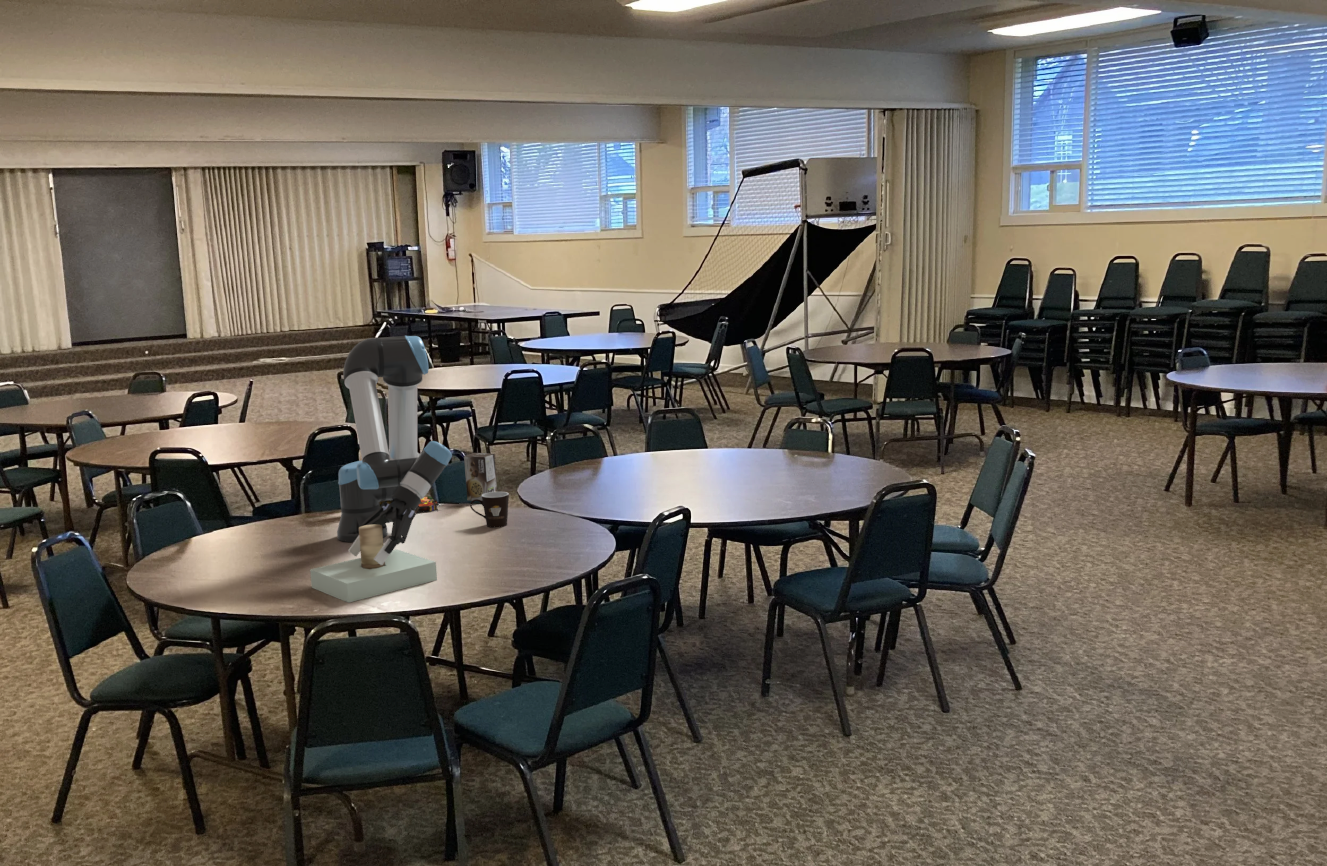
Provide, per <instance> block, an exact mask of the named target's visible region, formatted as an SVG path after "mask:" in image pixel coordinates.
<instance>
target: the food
mask: <svg viewBox="0 0 1327 866" xmlns="http://www.w3.org/2000/svg"><path fill="white" fill-rule="evenodd" d="M383 502H385V501H380V502H379V505H380V506H381V505H382V504H383ZM386 502H387V503H388V504H389V505H390V504H391V503H392V502H393V500H388V501H386ZM438 506H440V504H439V502H438V500H435V499H433V497H432V496H429V495H428V496H425V497H424V498H423V499H421V503H420V504H419V506H418V507H417V508H416V510H415V511H416V512H415V513H416V514H419V513H429V512H436V511H437V512H439V511H440V509H438ZM383 511H384V510H383ZM385 516H386V515H385Z"/></svg>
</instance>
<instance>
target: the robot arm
mask: <svg viewBox="0 0 1327 866" xmlns="http://www.w3.org/2000/svg"><path fill="white" fill-rule="evenodd" d="M428 373H429V360H428V355H427V350H426V346H425V344H424V342H423V340H422V338H421V337H419V336H417V335H403V336H388V337H387V336H386V337H371V338H370V337H369V338H366V339H363V340H362V341H359V342H358V343H357V344H355V345H354V347H353V348H352V349H351V350H350V351H349V353H348V355H347V357H346V358H345V361H344V365H343V372H342V374H343V375H342V376H343V381H344V385H345V387H346V388H347V389H349V394H350V400H351V407H352V411H353V416H354V421H355V422H354V423H355V428H356V429H355V430H356V434H357V439H358V444H359V445H358V446H359V450H360V456H361V460H357V461H354V462H350V463H346V464H345V465H342V466H341V467H340V469H339V470H338V482H337V484H338V486H339V487H338V488H339V497H340V499H339V500H340V511H341V514H340V519H339V523H338V527H337V530H336V531H337V532H336V533H337V534H336V535H337V537H336V538H337V540H338V541H340V542H346V543H352V544H351V545H350V547H349V548H348V549H347V551H348V552H349V553H350V554H352V555H353V556H354V557H357V556H358V555H359V554H360V553H361V551H360V539H359V527H361V526H364V525H372V524H378V525H382V532H383V538H385V537H387V536H388V527H387V524H390V523H392V527H391V535H390V536H388V538H387V539H386V541H385V542H384V543H383V546H382V548H381V549H380V551H379V552H378V554H377V555H376V556H375V558H374V560H375V561H376V562H378V563H379V564H380V565H383V563H384V562H385V560H386V559H387V558H388V556H389V555H390V553H391V552H392V550H395V548H396V546H398V545H400V544H404V543H405V542H406V540H407V538H408V534H409V531H410V528H411V526H412V523H413V520H414V519H415V516H416V514H417V513H416V512H415V511H417V509H416V508H417V507H418V506H419V504H420V503H421V499H423V498H424V497H426V495H427V494H428V493H429V491H430V490H431V488H432V487H433V485H434V483H435V482H436V480H438V478H439V477H440V475H441V474H442V472H443V471H444V470H445V468H446V467H447V466H448V465H449V462H450V461H451V459H452V457H453V454H452V452H451V451H450V450H449V448H448V447H446V446H445V445H444V444H442V443H440V442H438V441H435V440H432V441H429V442H428V443H427V444H426V446H425V447H424V448H423V450H422V451H421V453H419V452H418V386H419V385H420V384H421V383H422V382H423V375H424V376H425V375H426V374H427V375H428ZM379 378H382V381H383V383H384V384H386V385H387V388H388V389H387V391H388V393H387V394H388V397H387V398H388V399H387V400H388V402H387V403H388V440H387V435H386V430H385V426H384V420H383V415H382V411H381V410H382V409H381V405H380V404H381V403H380V400H379V394H378V390H377V389H378V388H377V383H378V382H379ZM388 500H393V502H392V503H391V504H390V505H389V504H388V503H387V502H386V501H388ZM380 501H385V502H383V504H382V505H381V506H380V505H379V502H380ZM383 510H384V511H383ZM385 515H386V516H385Z"/></svg>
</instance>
